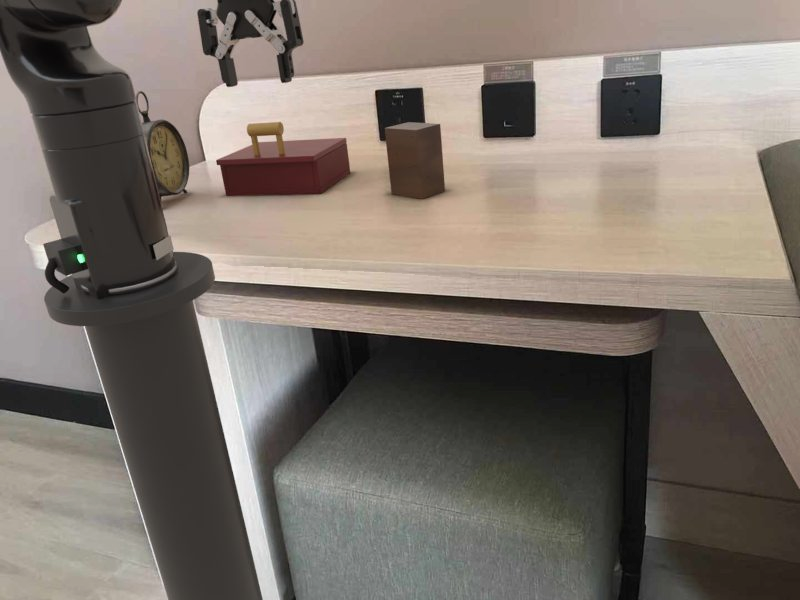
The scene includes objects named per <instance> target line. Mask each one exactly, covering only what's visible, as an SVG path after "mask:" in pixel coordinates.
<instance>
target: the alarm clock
mask: <svg viewBox="0 0 800 600" xmlns="http://www.w3.org/2000/svg"><path fill="white" fill-rule="evenodd" d="M140 94H141V95H142V96H143V97H144V100H145V103H146V109H145V110H142V111H141V109H140V107H139V95H140ZM135 96H136V101H137V105H138V109H139V113H140V116H142V118H143V119H142V120H143V121H141V122H142V126H143V130H144V135H145V139H146V143H147V147H148V151H149V155H150V160H151V164H152V168H153V172H154V176H155V180H156V184H157V189H158V193H159V197H160V201H161V202H162V197H170V196H177V195H180V194H181V193H183V194H187V193H188V190H187V189H186V187H187V184H188V183H189V182H188V181H189V176H190V161H189V154H188V151H187V146H186V144H185V141H184V139H183V137H182V135H181V133H180V132H179V129H177V128H176V126H175V124H172V123H171V122H170V121H169V120H166V119H162V118H161V119H157V120H151V119H150V117H149V110H150V106H149V105H150V104H149V100H148V97H147V95H146V93H145V92H143V91H142V90H139V91H137V93H135Z"/></svg>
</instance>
